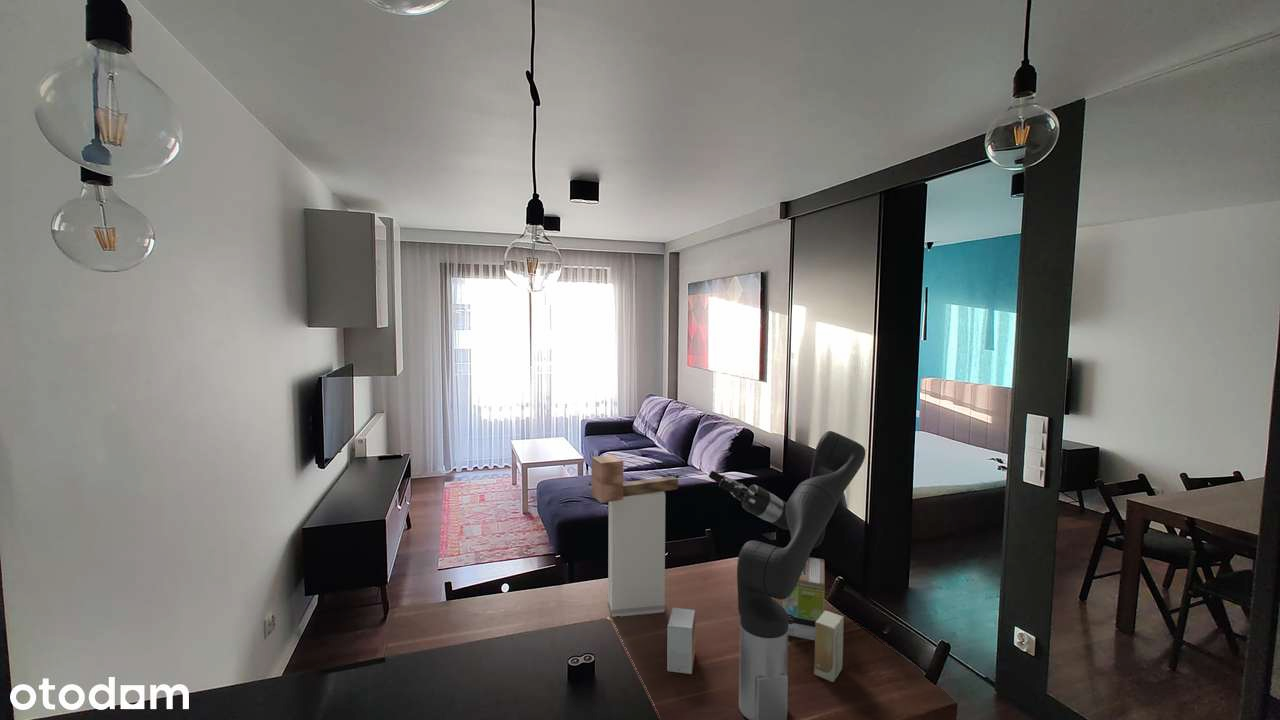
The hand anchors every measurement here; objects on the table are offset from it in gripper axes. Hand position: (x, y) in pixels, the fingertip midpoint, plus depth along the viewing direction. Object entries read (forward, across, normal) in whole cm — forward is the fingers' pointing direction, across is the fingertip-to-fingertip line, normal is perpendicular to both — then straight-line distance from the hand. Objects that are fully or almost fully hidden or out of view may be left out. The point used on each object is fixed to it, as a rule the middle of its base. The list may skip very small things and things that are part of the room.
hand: (715, 477), depth 144 cm
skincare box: (-30, +34, +23) cm, 51 cm away
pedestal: (+2, 0, +41) cm, 41 cm away
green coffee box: (-34, +15, +21) cm, 42 cm away
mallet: (+18, +2, +13) cm, 22 cm away
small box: (-3, +25, +38) cm, 46 cm away
